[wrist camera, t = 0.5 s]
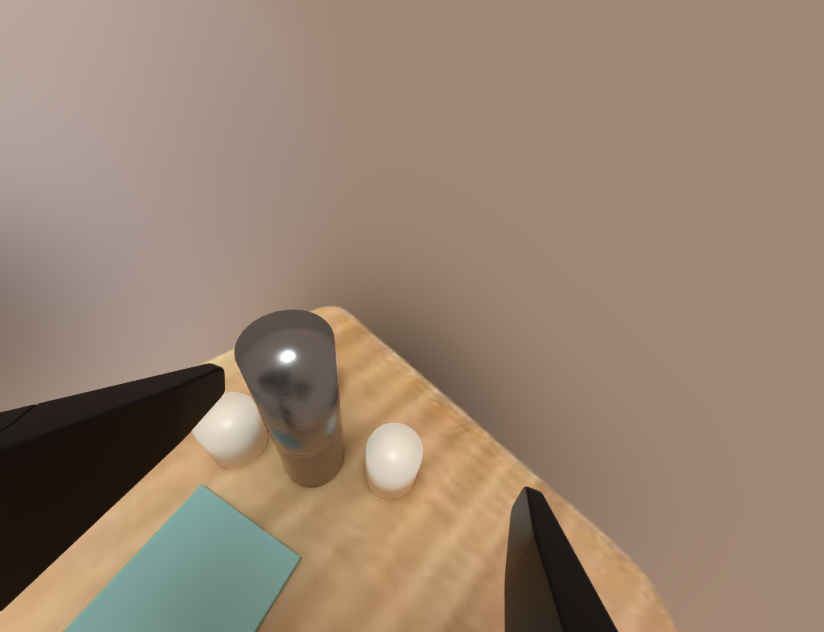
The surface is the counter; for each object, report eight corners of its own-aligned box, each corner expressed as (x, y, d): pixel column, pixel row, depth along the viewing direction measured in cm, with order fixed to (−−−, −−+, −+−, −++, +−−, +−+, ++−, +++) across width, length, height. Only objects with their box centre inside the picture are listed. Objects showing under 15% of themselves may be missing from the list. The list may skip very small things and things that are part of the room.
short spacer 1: (239, 479, 21) (221, 456, 18) (201, 452, 22) (178, 426, 19) (278, 434, 24) (268, 407, 21) (242, 411, 24) (227, 383, 22)
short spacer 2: (400, 510, 21) (406, 493, 18) (355, 482, 22) (354, 461, 19) (423, 461, 23) (432, 439, 21) (381, 437, 24) (384, 413, 21)
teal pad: (172, 766, 13) (168, 769, 13) (57, 643, 15) (51, 643, 15) (301, 558, 19) (300, 557, 18) (203, 486, 21) (201, 484, 20)
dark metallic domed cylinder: (320, 499, 21) (290, 401, 12) (273, 468, 22) (211, 354, 13) (354, 446, 24) (352, 332, 14) (311, 420, 25) (283, 298, 15)
